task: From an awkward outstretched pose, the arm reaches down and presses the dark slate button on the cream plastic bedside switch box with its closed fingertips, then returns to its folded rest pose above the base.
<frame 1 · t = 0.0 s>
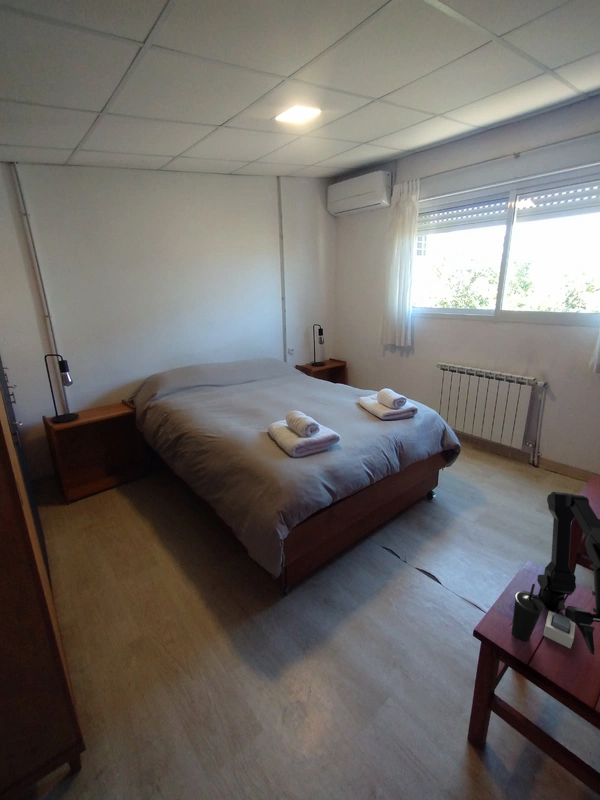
button: (560, 624, 115), point 4 cm above the table, slide at 0.0 cm
switch box: (557, 633, 116), on the table
drinking cup: (520, 635, 116), on the table
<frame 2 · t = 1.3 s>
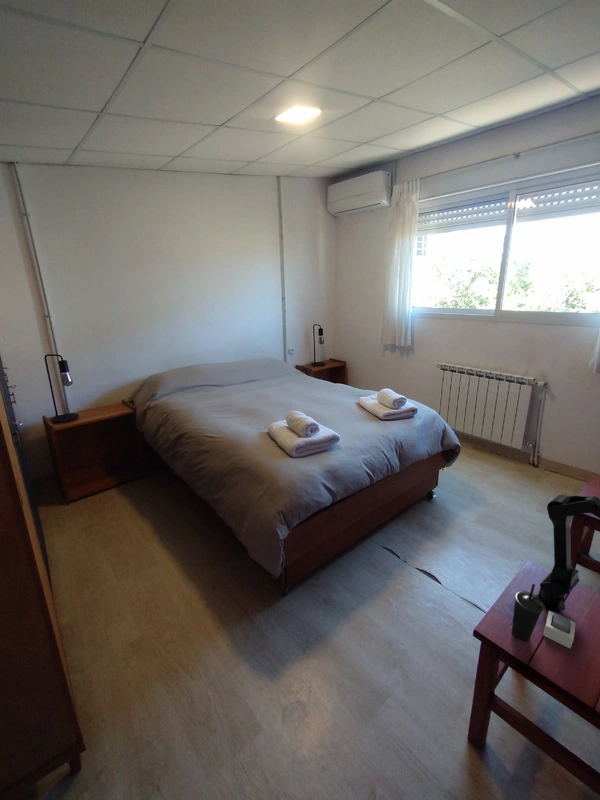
nothing on the table moved.
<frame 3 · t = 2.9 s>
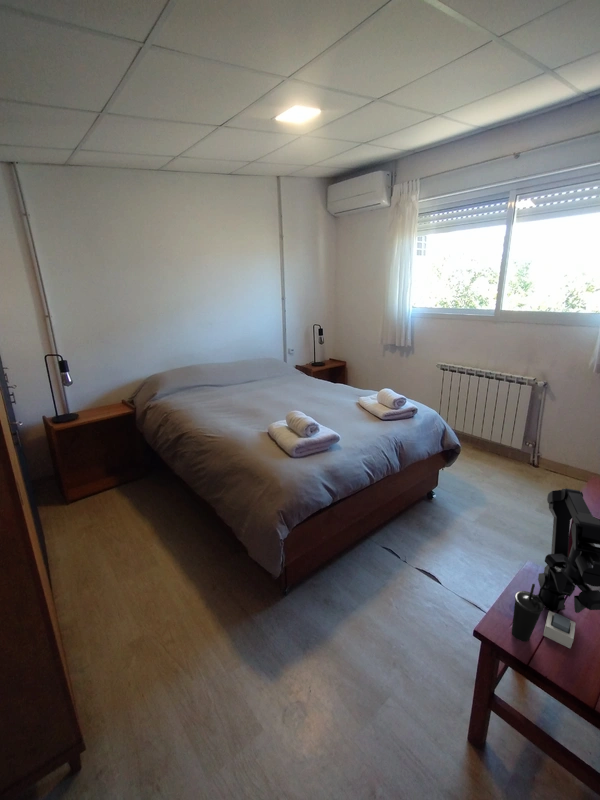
hand: (568, 602, 112), 13 cm above the table, tool pointing down, fingers open, 7 cm apart
nothing on the table moved.
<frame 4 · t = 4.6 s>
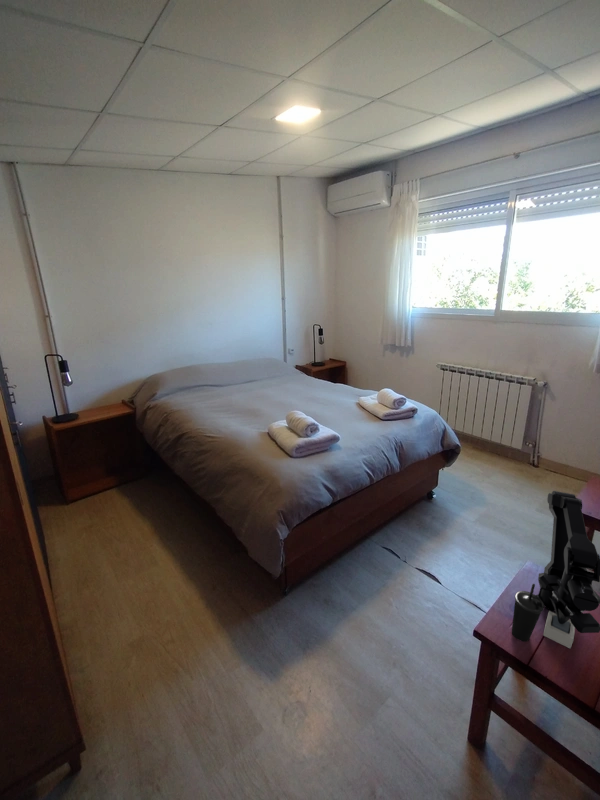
hand: (561, 622, 115), 4 cm above the table, tool pointing down, fingers closed, pressing on button
button: (560, 626, 115), point 3 cm above the table, slide at 1.0 cm, touching gripper
everything else where it was.
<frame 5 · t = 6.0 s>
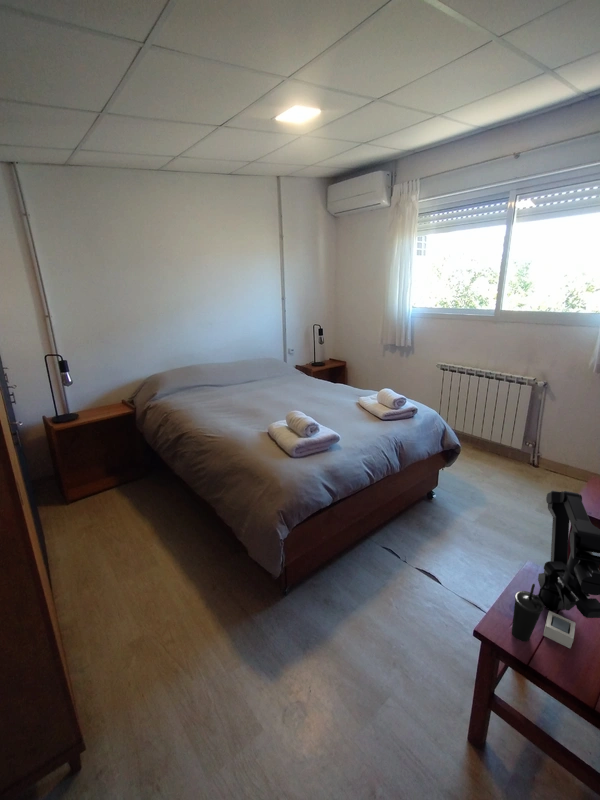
hand: (566, 609, 113), 10 cm above the table, tool pointing down, fingers closed
button: (559, 628, 116), point 2 cm above the table, slide at 1.6 cm
everything else where it was.
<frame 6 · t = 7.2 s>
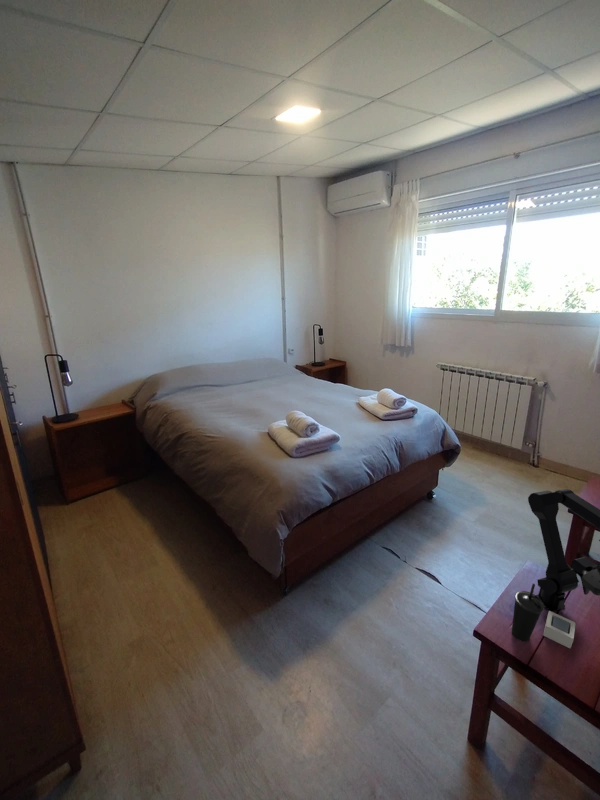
nothing on the table moved.
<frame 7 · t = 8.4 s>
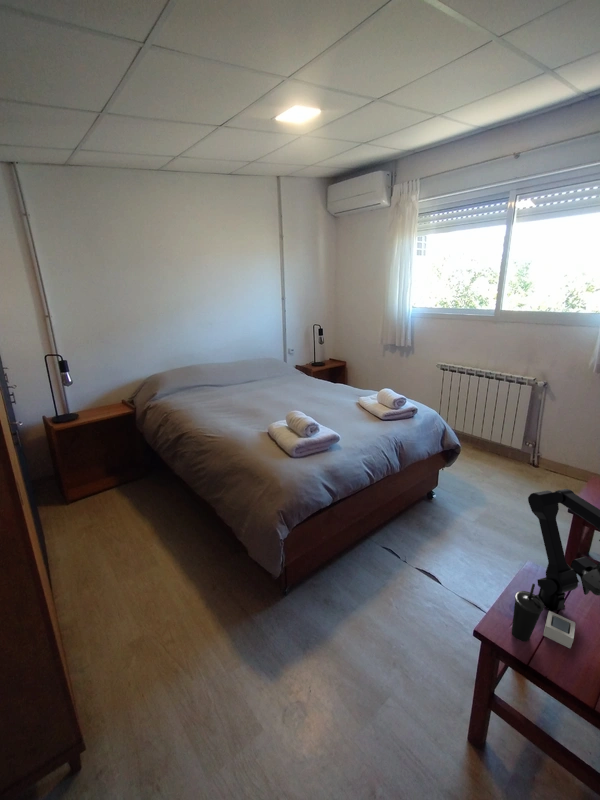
nothing on the table moved.
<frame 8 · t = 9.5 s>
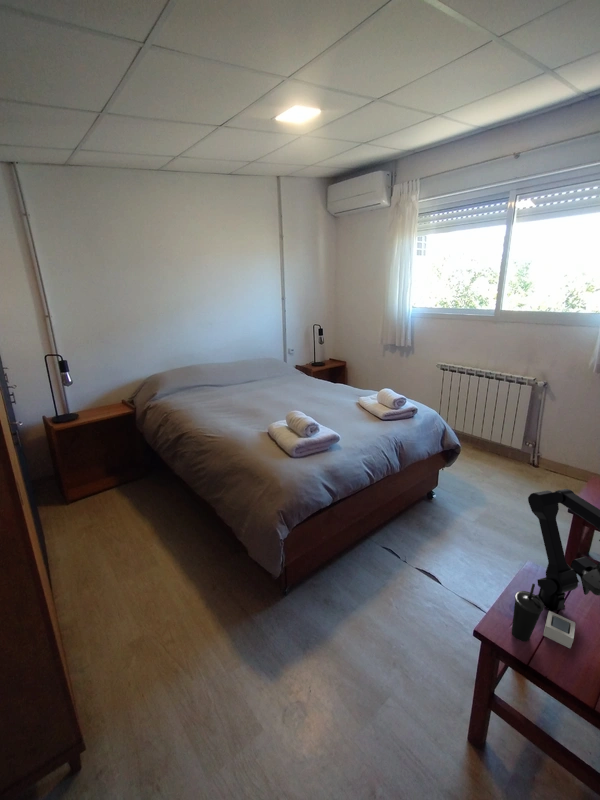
nothing on the table moved.
at the end: button slide at 1.6 cm; drinking cup moved 0.2 cm from its start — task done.
